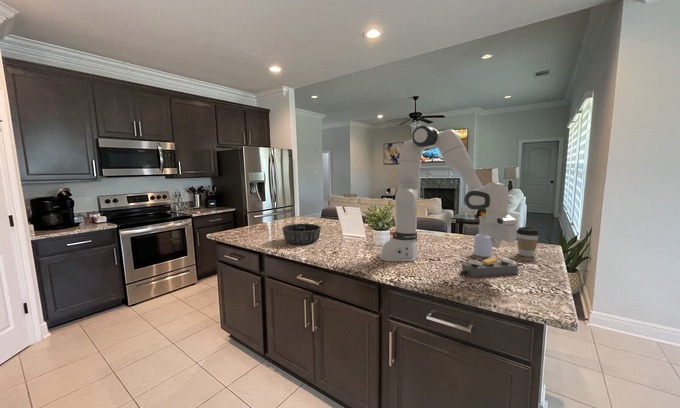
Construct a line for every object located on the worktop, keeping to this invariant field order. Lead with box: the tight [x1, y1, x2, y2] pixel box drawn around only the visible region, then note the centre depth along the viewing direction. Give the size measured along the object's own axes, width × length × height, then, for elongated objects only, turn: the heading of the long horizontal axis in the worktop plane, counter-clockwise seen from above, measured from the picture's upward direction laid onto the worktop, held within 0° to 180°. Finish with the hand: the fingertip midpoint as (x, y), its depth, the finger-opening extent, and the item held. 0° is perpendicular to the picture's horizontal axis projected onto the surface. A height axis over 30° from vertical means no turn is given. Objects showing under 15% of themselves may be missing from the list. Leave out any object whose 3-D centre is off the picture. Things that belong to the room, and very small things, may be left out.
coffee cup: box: [516, 226, 541, 258], centre depth 161 cm, size 11×11×15 cm
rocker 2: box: [482, 257, 498, 265], centre depth 133 cm, size 5×3×1 cm, turn 101°
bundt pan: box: [281, 223, 322, 245], centre depth 194 cm, size 26×26×10 cm
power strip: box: [459, 260, 519, 278], centre depth 133 cm, size 27×7×5 cm, turn 101°
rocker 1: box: [467, 259, 483, 265], centre depth 132 cm, size 5×3×1 cm, turn 101°
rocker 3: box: [497, 256, 514, 263], centre depth 134 cm, size 5×3×1 cm, turn 101°
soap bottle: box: [473, 211, 493, 258], centre depth 160 cm, size 9×9×25 cm
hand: (495, 247), depth 132 cm, fingers closed
